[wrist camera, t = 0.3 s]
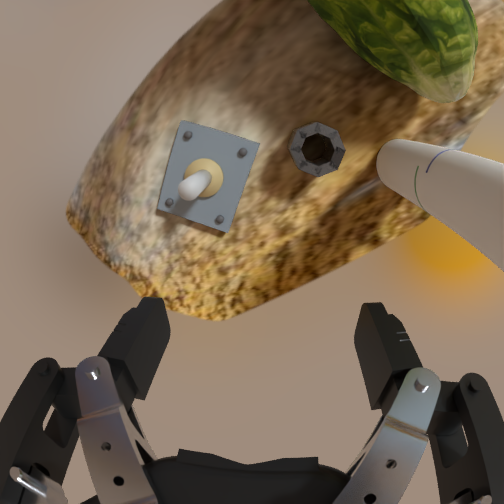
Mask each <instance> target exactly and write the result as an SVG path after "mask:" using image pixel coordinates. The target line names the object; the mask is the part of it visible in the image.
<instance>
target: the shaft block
mask: <svg viewBox="0 0 504 504" xmlns="http://www.w3.org/2000/svg"><path fill="white" fill-rule="evenodd" d="M259 145H260V144H259V143H256V142H254V141H251V140H248V139H245V138H242V137H239V136H236V135H232V134H229V133H226V132H223V131H220V130H216V129H213V128H209V127H206V126H203V125H199V124H195V123H192V122H188V121H182V120H181V122H180V125H179V128H178V132H177V135H176V138H175V142H174V145H173V149H172V152H171V156H170V159H169V163H168V167H167V170H166V174H165V178H164V182H163V186H162V191H161V195H160V199H159V203H158V208H157V209H159V210H162V211H165V212H168V213H171V214H174V215H177V216H180V217H183V218H186V219H189V220H192V221H194V222H197V223H200V224H203V225H206V226H209V227H212V228H215V229H218V230H221V231H223V232H226V233H228V232H229V229H230V226H231V223H232V220H233V217H234V215H235V212H236V209H237V206H238V203H239V200H240V197H241V195H242V192H243V189H244V186H245V183H246V181H247V178H248V175H249V172H250V170H251V167H252V164H253V161H254V159H255V156H256V153H257V150H258V148H259Z"/></svg>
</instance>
